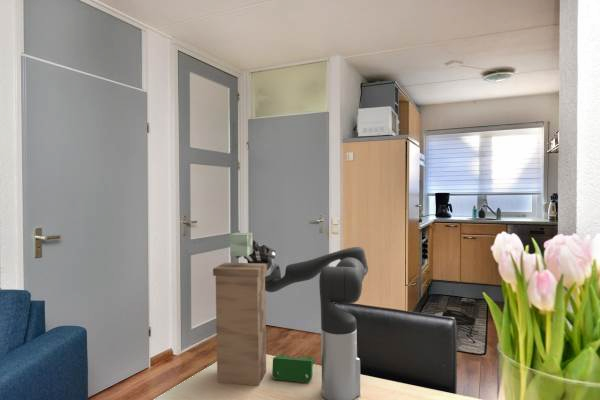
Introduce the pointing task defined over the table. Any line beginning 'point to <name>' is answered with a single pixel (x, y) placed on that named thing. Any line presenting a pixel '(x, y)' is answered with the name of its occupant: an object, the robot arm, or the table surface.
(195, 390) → the table surface
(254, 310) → the tool tower
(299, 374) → the green box
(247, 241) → the mint and tan block
